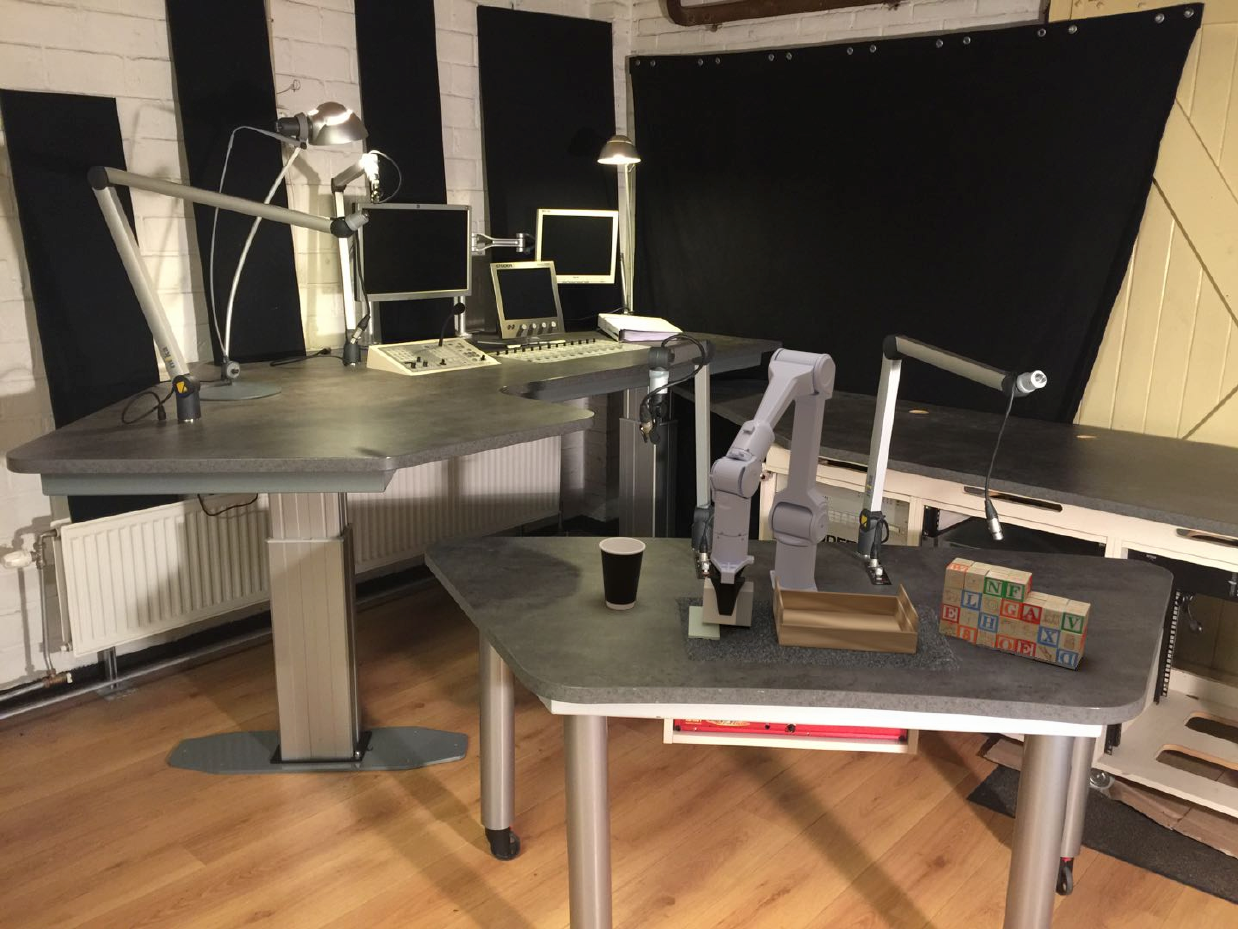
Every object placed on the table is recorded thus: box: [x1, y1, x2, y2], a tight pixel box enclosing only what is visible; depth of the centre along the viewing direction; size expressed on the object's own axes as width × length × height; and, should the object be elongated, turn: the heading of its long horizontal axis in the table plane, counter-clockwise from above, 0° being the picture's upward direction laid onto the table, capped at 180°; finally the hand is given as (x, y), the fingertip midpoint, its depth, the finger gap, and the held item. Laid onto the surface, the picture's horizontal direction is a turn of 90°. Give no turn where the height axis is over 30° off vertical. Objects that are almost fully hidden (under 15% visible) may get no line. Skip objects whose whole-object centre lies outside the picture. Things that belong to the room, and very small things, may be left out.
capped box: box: [702, 577, 754, 627], centre depth 165 cm, size 4×8×6 cm, turn 82°
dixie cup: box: [598, 536, 646, 611], centre depth 171 cm, size 8×8×11 cm
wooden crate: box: [772, 576, 919, 655], centre depth 164 cm, size 15×21×6 cm
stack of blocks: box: [938, 557, 1092, 668], centre depth 160 cm, size 21×6×12 cm, turn 57°
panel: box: [687, 605, 721, 641], centre depth 166 cm, size 12×12×1 cm
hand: (725, 608), depth 165 cm, fingers open, 5 cm apart
